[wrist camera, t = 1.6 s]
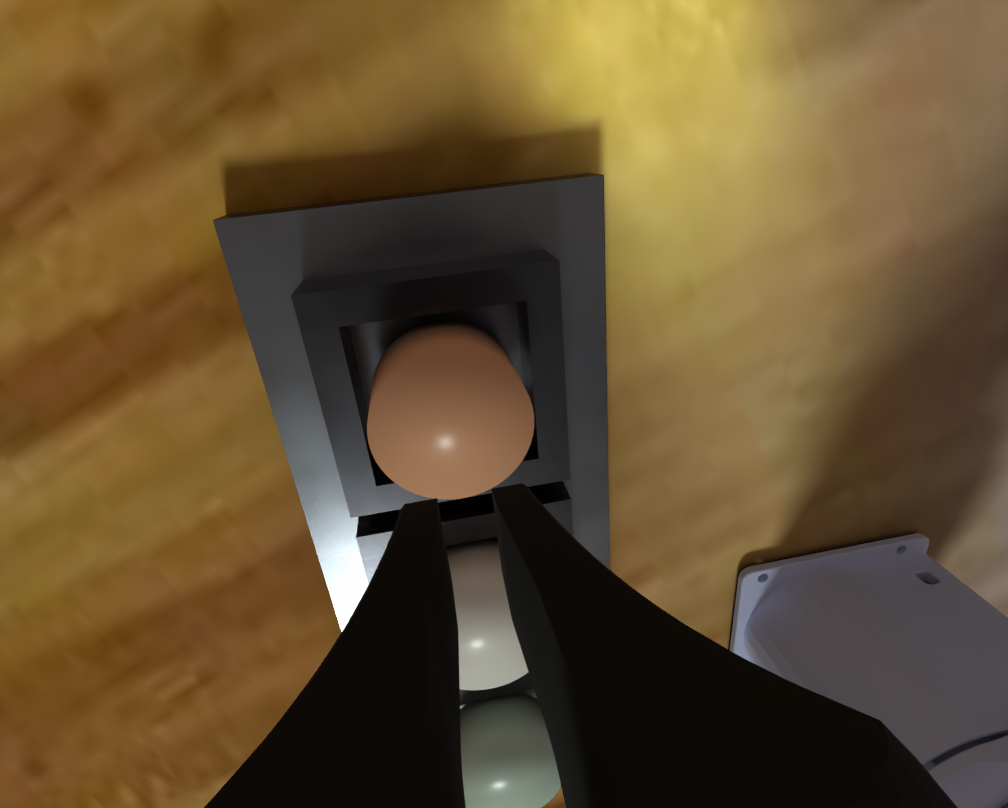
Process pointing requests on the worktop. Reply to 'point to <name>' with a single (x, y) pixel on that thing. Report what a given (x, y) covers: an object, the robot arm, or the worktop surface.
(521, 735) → the button sage
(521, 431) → the button terracotta
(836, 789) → the robot arm
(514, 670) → the button cream
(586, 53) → the worktop surface
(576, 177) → the tray
